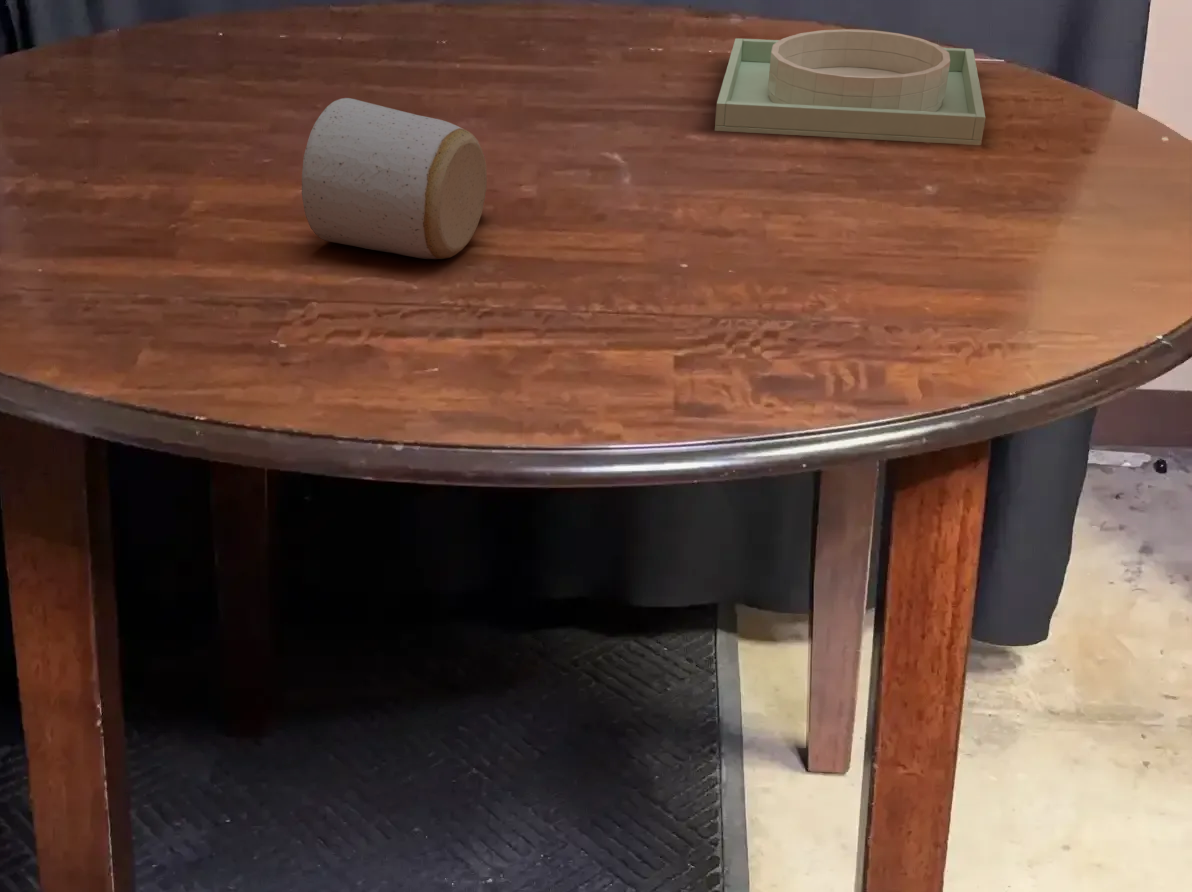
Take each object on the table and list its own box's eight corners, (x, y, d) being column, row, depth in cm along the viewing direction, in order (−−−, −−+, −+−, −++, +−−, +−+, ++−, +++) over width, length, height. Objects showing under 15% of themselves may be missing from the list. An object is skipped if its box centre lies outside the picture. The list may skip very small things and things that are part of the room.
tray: (968, 77, 111) (973, 48, 109) (980, 148, 98) (985, 116, 97) (733, 65, 113) (735, 37, 112) (714, 133, 100) (716, 102, 99)
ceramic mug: (437, 283, 80) (433, 137, 76) (303, 260, 83) (291, 117, 78) (518, 220, 88) (518, 84, 84) (393, 200, 91) (387, 68, 86)
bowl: (940, 76, 109) (946, 33, 107) (946, 128, 100) (953, 81, 98) (772, 68, 111) (776, 25, 109) (762, 118, 101) (766, 72, 100)
